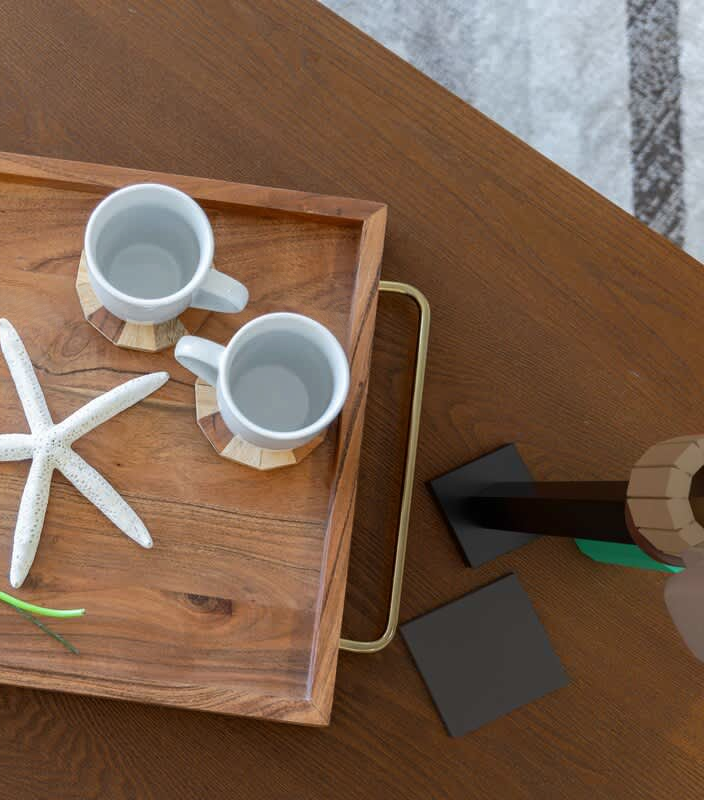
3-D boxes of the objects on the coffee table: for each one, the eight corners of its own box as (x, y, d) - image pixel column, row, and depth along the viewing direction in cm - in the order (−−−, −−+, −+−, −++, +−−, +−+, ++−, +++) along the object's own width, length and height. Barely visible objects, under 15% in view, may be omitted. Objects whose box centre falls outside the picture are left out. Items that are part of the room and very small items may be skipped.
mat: (567, 681, 74) (570, 682, 74) (450, 737, 74) (453, 739, 73) (512, 571, 75) (516, 572, 74) (397, 626, 75) (399, 627, 74)
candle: (563, 551, 75) (650, 563, 63) (579, 483, 76) (669, 483, 64) (631, 571, 75) (731, 587, 63) (647, 504, 76) (750, 507, 64)
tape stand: (548, 528, 75) (857, 556, 45) (465, 567, 75) (719, 623, 44) (506, 443, 76) (781, 414, 45) (423, 481, 76) (644, 479, 45)
